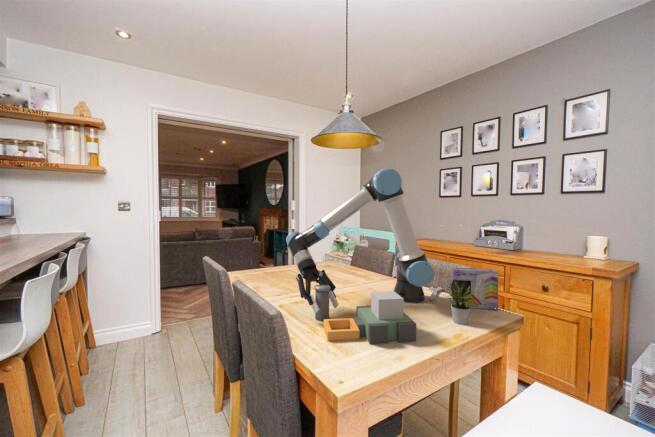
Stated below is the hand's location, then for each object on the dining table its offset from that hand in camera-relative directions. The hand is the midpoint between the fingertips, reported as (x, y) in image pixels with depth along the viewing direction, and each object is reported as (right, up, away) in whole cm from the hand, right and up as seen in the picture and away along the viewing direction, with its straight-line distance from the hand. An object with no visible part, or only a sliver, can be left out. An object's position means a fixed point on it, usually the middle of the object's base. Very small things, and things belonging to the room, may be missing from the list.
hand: (327, 308), depth 111 cm
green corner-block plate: (+14, -5, -9) cm, 18 cm away
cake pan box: (+67, -5, +17) cm, 69 cm away
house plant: (+51, -5, +1) cm, 52 cm away
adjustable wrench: (+55, -5, +36) cm, 66 cm away
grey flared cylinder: (-2, -5, +3) cm, 6 cm away
